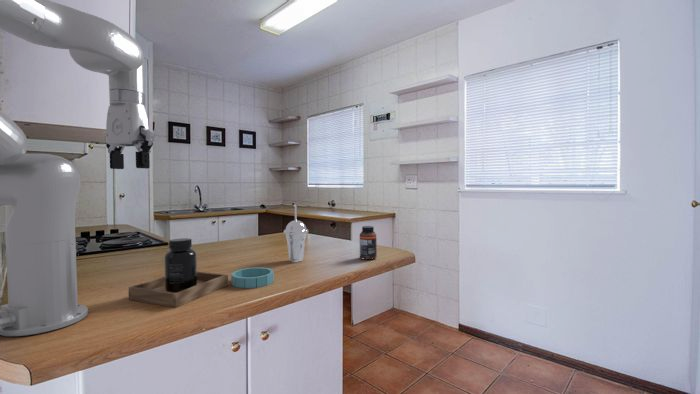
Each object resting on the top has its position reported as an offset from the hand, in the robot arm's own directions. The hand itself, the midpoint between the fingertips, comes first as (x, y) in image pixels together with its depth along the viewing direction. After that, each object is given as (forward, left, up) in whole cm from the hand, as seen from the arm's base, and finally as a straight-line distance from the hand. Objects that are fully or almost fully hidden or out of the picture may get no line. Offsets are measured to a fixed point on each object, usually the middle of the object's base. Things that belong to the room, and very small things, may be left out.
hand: (129, 168), depth 84 cm
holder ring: (+13, -28, -30) cm, 43 cm away
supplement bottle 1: (0, -17, -29) cm, 34 cm away
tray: (0, -17, -30) cm, 34 cm away
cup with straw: (+38, -27, -30) cm, 55 cm away
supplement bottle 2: (+50, -49, -30) cm, 76 cm away
